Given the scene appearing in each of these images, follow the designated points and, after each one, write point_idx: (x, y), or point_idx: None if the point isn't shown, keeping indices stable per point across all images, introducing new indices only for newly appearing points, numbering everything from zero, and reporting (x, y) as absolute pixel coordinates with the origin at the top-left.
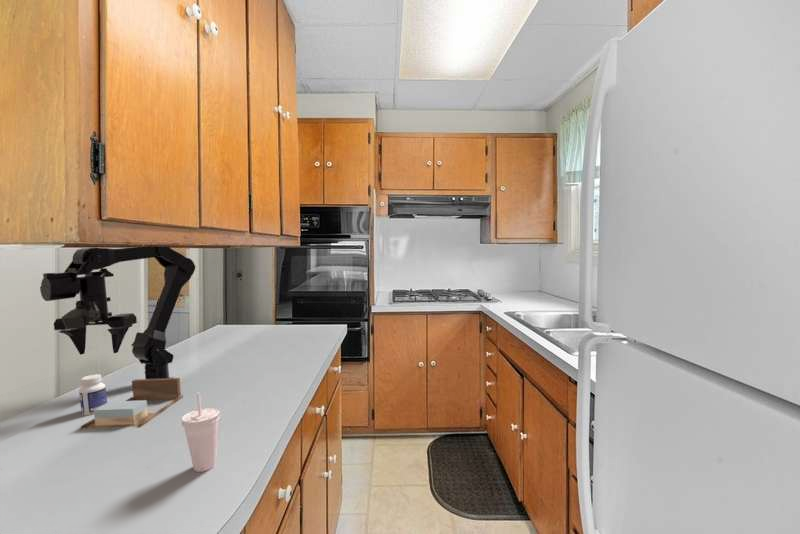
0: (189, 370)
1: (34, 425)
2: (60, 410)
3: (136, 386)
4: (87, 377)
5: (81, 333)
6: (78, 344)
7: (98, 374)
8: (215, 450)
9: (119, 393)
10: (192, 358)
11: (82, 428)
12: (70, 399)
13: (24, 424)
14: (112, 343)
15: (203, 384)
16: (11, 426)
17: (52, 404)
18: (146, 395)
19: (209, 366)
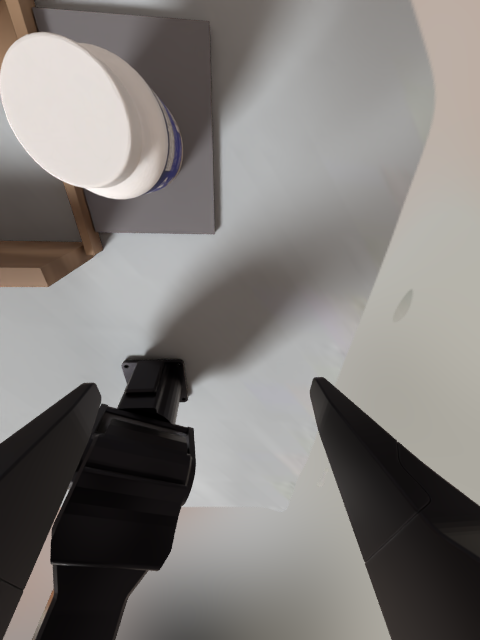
0: None
1: (316, 41)
2: (307, 207)
3: (36, 259)
4: (85, 106)
5: (391, 566)
6: (352, 433)
7: (71, 181)
8: None
9: (213, 325)
10: (202, 485)
11: None
12: (330, 295)
13: (364, 63)
14: (31, 441)
15: (11, 367)
16: (406, 44)
17: (363, 263)
18: (24, 248)
19: None
